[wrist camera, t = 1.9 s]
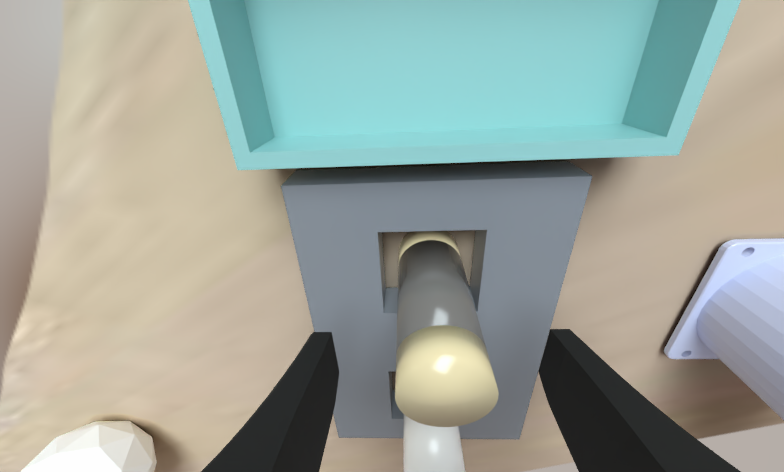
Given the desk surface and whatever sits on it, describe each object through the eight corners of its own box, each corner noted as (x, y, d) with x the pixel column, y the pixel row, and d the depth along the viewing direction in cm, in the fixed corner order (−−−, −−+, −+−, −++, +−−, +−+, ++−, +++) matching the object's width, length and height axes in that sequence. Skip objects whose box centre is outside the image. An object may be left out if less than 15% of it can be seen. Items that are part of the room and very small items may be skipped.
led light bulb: (459, 224, 15) (504, 363, 8) (455, 274, 17) (492, 427, 10) (397, 226, 16) (392, 363, 9) (399, 275, 17) (397, 426, 10)
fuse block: (568, 160, 14) (592, 176, 12) (510, 409, 22) (519, 439, 21) (296, 170, 14) (281, 185, 13) (343, 408, 23) (338, 437, 21)
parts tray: (711, -149, 9) (833, -230, 7) (623, 135, 13) (678, 155, 10) (209, -108, 10) (139, -167, 7) (269, 148, 14) (237, 170, 11)
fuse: (450, 352, 20) (476, 511, 13) (448, 382, 21) (470, 540, 14) (402, 352, 20) (402, 510, 13) (404, 382, 21) (404, 539, 14)
